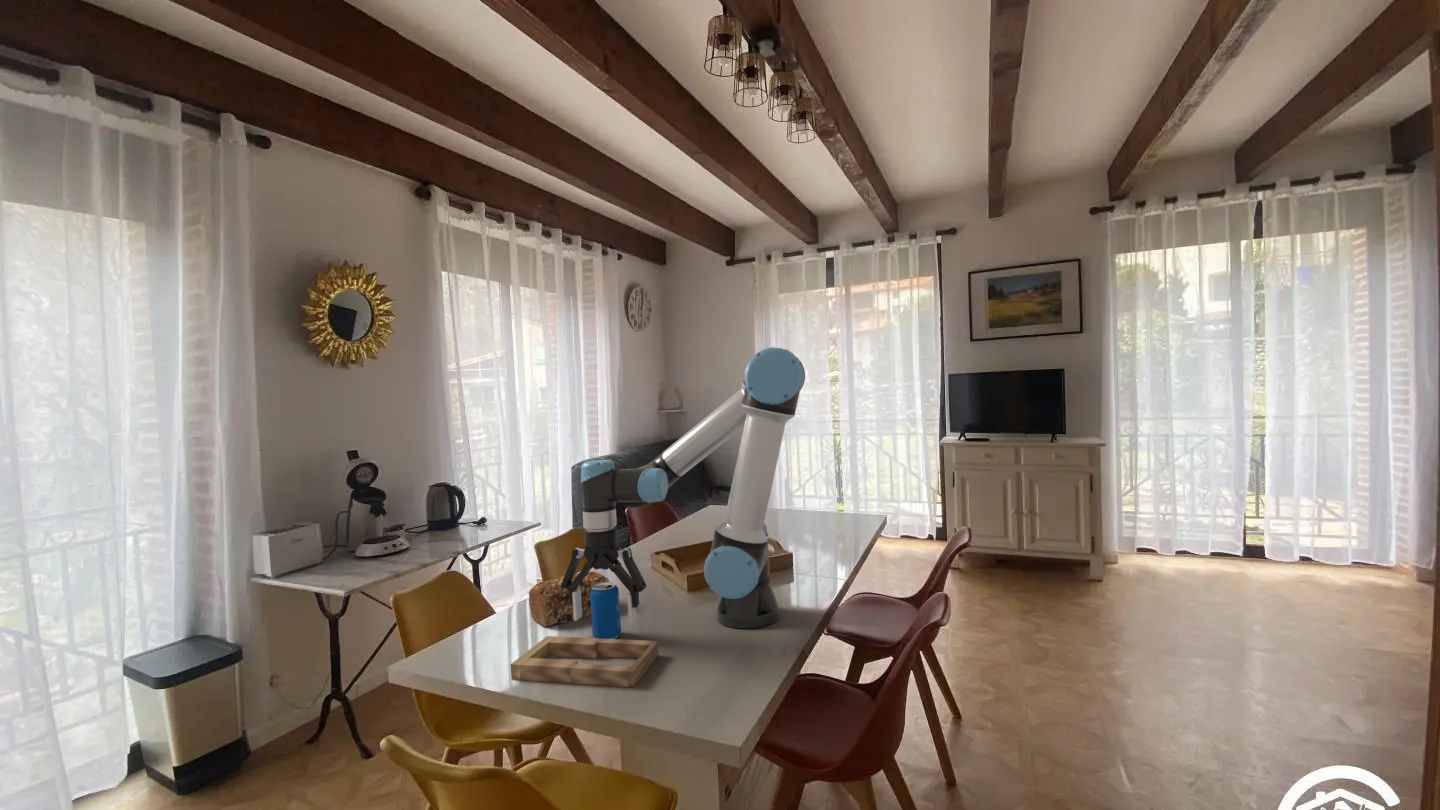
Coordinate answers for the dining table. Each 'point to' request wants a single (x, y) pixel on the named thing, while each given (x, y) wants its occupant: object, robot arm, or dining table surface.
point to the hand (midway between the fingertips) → (604, 620)
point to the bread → (560, 599)
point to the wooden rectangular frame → (570, 671)
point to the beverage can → (605, 610)
